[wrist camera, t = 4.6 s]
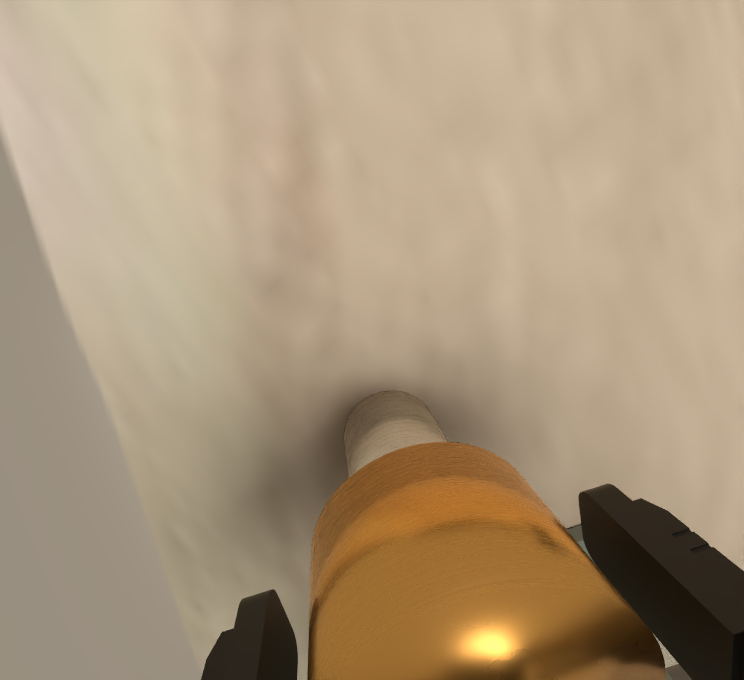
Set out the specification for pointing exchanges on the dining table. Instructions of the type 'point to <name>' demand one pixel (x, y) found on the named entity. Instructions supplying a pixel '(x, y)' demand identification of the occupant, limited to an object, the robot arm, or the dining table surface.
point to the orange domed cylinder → (456, 569)
